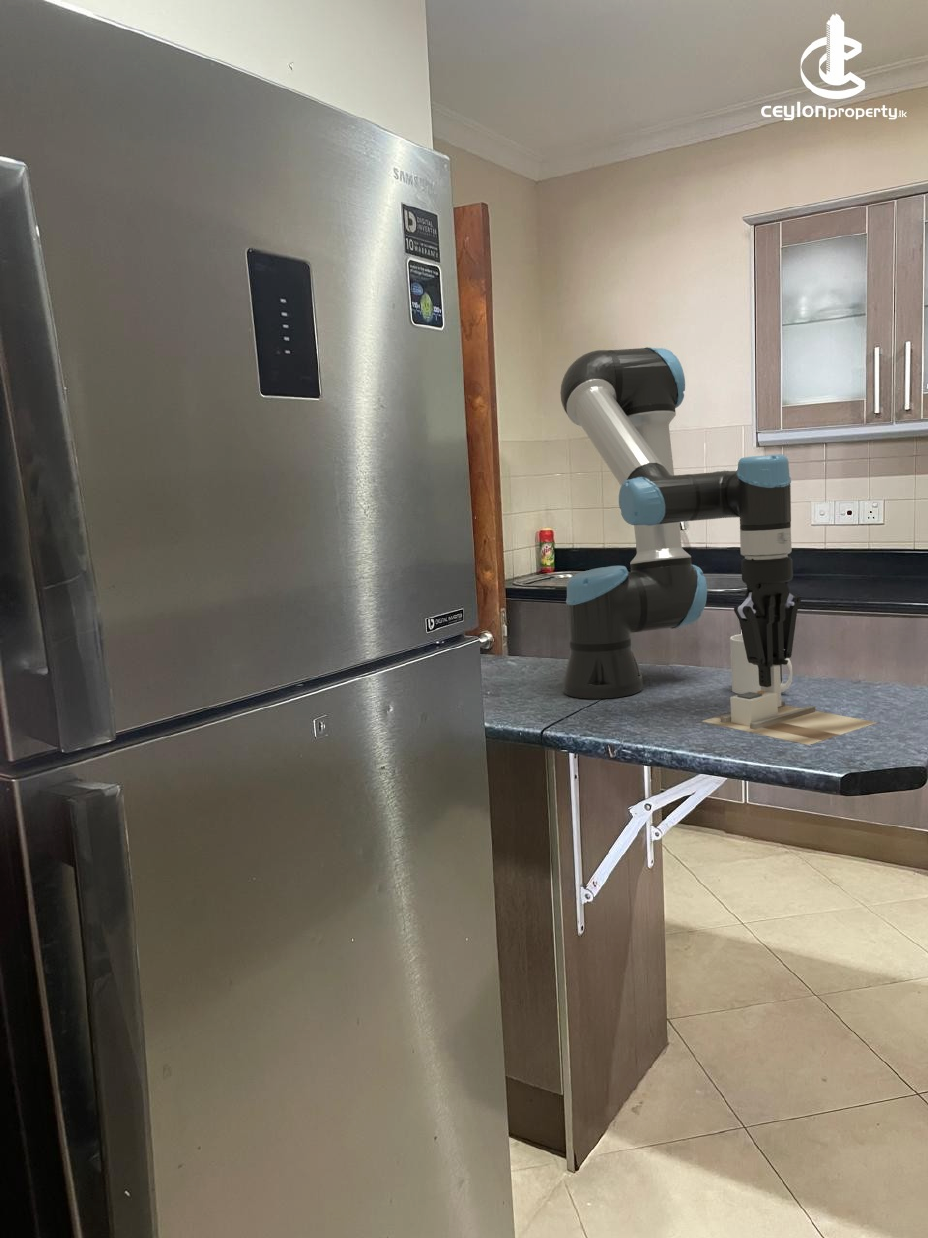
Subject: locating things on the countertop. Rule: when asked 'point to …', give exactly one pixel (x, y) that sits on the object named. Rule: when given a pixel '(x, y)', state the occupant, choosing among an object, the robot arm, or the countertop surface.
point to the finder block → (753, 707)
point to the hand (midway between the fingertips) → (771, 705)
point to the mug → (747, 669)
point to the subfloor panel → (797, 724)
